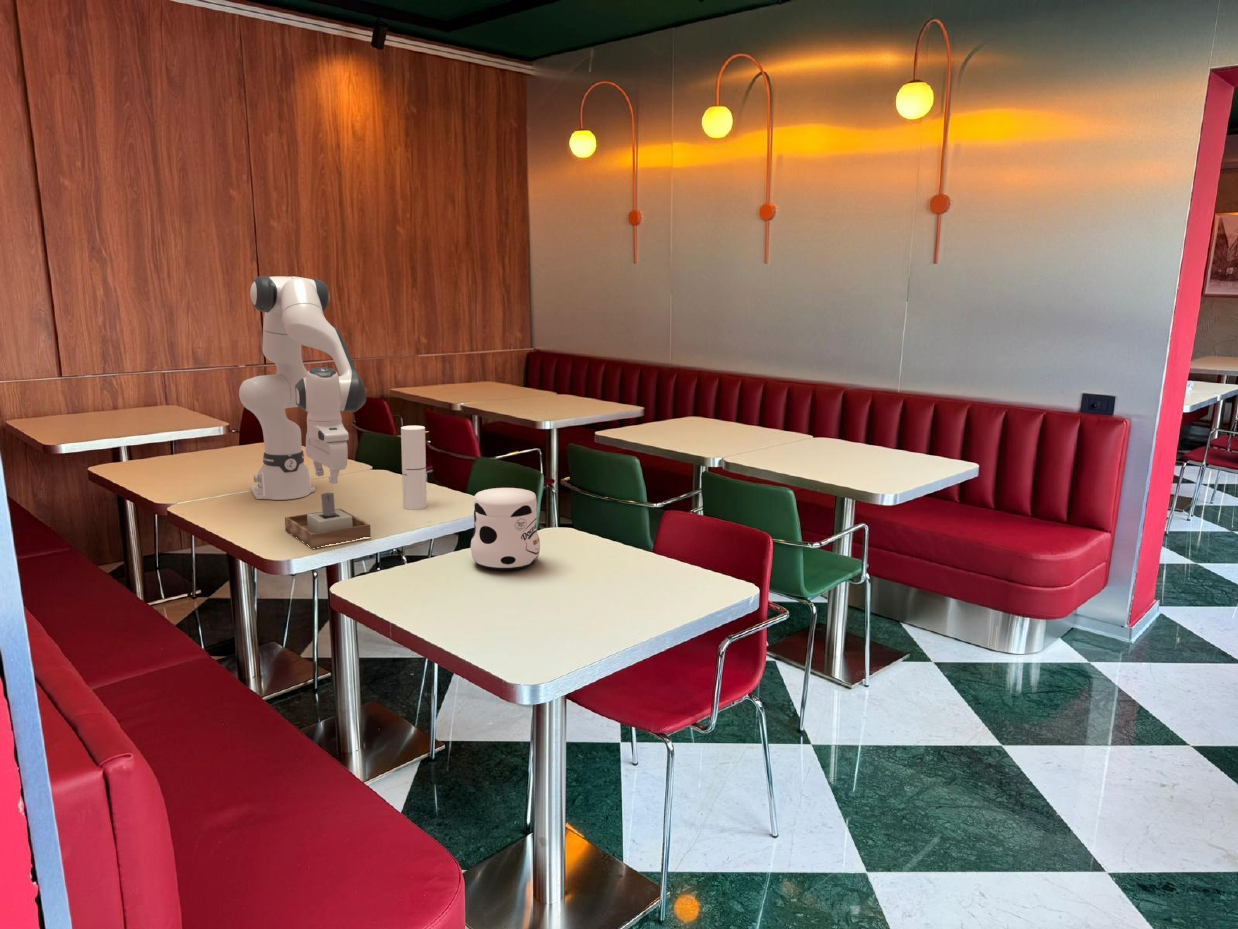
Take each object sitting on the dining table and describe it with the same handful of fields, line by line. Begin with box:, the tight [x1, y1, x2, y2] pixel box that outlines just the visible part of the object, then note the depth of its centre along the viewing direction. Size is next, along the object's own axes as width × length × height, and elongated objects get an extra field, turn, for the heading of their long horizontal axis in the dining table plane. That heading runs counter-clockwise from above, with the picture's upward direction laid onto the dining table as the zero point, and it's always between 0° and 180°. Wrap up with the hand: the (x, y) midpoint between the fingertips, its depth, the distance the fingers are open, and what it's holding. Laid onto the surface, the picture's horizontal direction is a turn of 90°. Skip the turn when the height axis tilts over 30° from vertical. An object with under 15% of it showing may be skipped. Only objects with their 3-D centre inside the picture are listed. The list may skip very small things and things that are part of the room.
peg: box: [320, 492, 336, 519], centre depth 236 cm, size 3×3×11 cm
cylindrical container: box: [400, 425, 428, 511], centre depth 267 cm, size 7×7×25 cm
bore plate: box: [306, 510, 353, 534], centre depth 236 cm, size 9×9×5 cm
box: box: [284, 508, 372, 549], centre depth 238 cm, size 20×16×4 cm
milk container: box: [470, 487, 541, 571], centre depth 217 cm, size 17×17×18 cm
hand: (326, 479), depth 234 cm, fingers open, 8 cm apart
